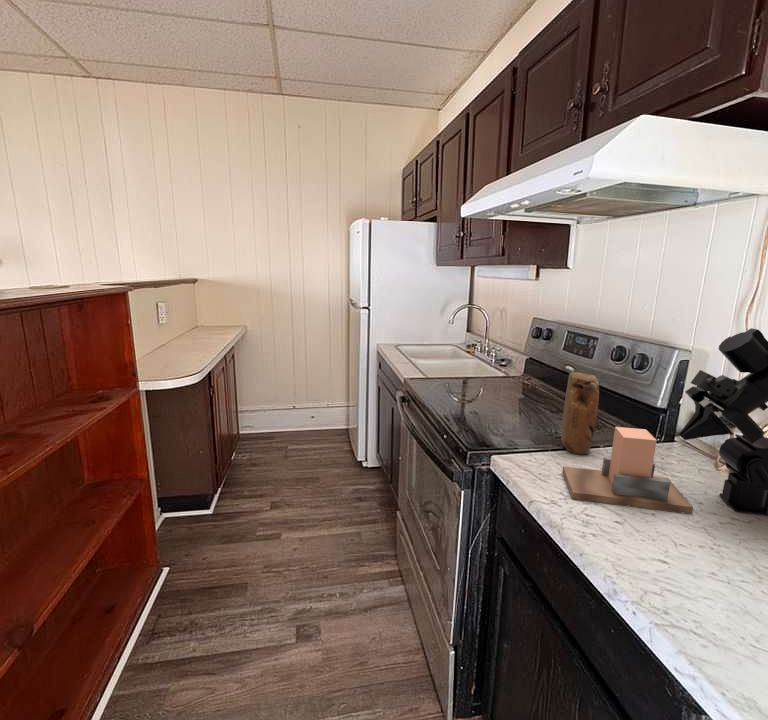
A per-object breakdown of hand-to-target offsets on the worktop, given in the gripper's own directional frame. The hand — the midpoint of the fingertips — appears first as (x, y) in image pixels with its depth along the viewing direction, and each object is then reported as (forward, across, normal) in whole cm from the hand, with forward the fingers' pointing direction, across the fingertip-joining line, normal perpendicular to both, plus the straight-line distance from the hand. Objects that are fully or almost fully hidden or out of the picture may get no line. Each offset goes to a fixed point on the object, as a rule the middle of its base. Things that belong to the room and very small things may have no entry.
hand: (681, 437), depth 86 cm
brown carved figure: (+20, -22, -1) cm, 30 cm away
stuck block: (+15, 0, +2) cm, 15 cm away
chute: (+16, 0, +3) cm, 17 cm away
